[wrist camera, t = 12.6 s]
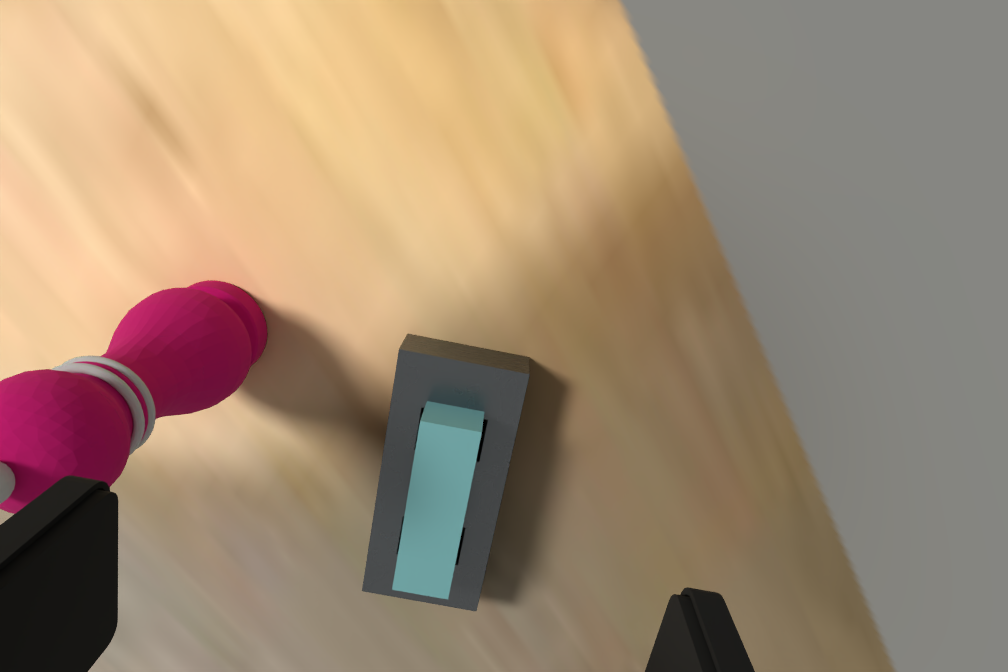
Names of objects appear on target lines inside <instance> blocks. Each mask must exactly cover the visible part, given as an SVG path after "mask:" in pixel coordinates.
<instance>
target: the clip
mask: <svg viewBox="0 0 1008 672" xmlns="http://www.w3.org/2000/svg"><path fill="white" fill-rule="evenodd" d="M483 419H484V412H483V411H478V410H472V409H467V408H462V407H456V406H451V405H446V404H440V403H435V402H430V401H427V403H426V405H425V408H424V411H423V414H422V417H421V420H420V425H419V431H418V437H417V443H416V449H415V455H414V461H413V467H412V473H411V479H410V485H409V491H408V497H407V503H406V509H405V515H404V521H403V527H402V533H401V539H400V545H399V551H398V557H397V563H396V569H395V575H394V581H393V587H392V590H397V591H402V592H408V593H414V594H419V595H425V596H431V597H436V598H442V599H448V597H449V592H450V587H451V582H452V578H453V573H454V568H455V563H456V558H457V553H458V548H459V543H460V538H461V533H462V528H463V523H464V518H465V513H466V508H467V503H468V498H469V493H470V488H471V483H472V478H473V474H474V469H475V464H476V459H477V454H478V449H479V444H480V439H481V434H482V427H483Z"/></svg>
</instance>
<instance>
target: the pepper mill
mask: <svg viewBox="0 0 1008 672" xmlns="http://www.w3.org/2000/svg"><path fill="white" fill-rule="evenodd" d="M266 341H267V326H266V321H265V318H264V315H263V313H262V311H261V309H260V308H259V306H258V305H257V303H256V302H255V301H254V300H253V299H252V298H251V297H250V296H249V295H248V294H247V293H246V292H244V291H243V290H241V289H240V288H238V287H236V286H234V285H232V284H229V283H226V282H221V281H203V282H199V283H195V284H193V285H191V286H189V287H187V288H172V289H167V290H162V291H159V292H157V293H154V294H152V295H150V296H149V297H147V298H145V299H144V300H142V301H141V302H140V303H138V304H137V305H136V306H134V307H133V308H132V309H130V311H129V312H128V313H127V314H126V316H125V317H124V318H123V319H122V320H121V322H120V324H119V325H118V327H117V329H116V330H115V332H114V334H113V337H112V340H111V342H110V345H109V348H108V350H107V352H106V353H105V354H104V355H102V356H81V357H76V358H73V359H70V360H68V361H66V362H64V363H63V364H62V365H60V366H57V367H55V368H53V369H51V370H50V369H45V370H35V371H27V372H23V373H20V374H17V375H15V376H12V377H9V378H6V379H4V380H2V381H0V509H2V510H4V511H7V512H9V513H14V514H16V513H17V512H18V511H20V510H21V509H22V508H23V507H25V506H26V505H27V504H29V503H30V502H31V501H33V500H34V499H35V498H37V497H38V496H39V495H40V494H42V493H43V492H44V491H46V490H47V489H48V488H50V487H51V486H52V485H53V484H55V483H56V482H57V481H59V480H60V479H62V478H63V477H65V476H69V475H72V476H78V477H83V478H89V479H94V480H100V481H104V482H106V483H107V484H108V485H109V487H110V486H111V485H112V484H113V483H114V482H115V481H116V479H117V478H118V477H119V476H120V475H121V473H122V471H123V469H124V467H125V465H126V462H127V459H128V457H129V455H130V454H132V453H133V452H134V451H135V449H137V448H139V447H140V446H141V445H143V444H144V443H145V442H146V440H147V439H148V438H149V436H150V435H151V433H152V431H153V428H154V424H155V419H157V418H159V417H164V416H171V415H181V414H189V413H193V412H197V411H200V410H203V409H207V408H210V407H212V406H214V405H216V404H218V403H219V402H221V401H222V400H224V399H225V398H227V397H228V396H230V395H231V394H232V393H234V392H235V391H236V390H237V389H238V388H239V386H240V385H241V384H242V382H243V381H244V379H245V378H246V375H247V373H248V371H249V368H250V366H251V365H253V364H254V363H255V362H256V361H257V360H258V358H259V357H260V356H261V354H262V352H263V350H264V348H265V345H266Z"/></svg>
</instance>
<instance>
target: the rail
mask: <svg viewBox="0 0 1008 672" xmlns="http://www.w3.org/2000/svg"><path fill="white" fill-rule="evenodd" d="M529 375H530V369H529V357H525V356H520V355H515V354H510V353H505V352H499V351H494V350H489V349H484V348H479V347H474V346H468V345H463V344H458V343H453V342H448V341H443V340H437V339H432V338H427V337H422V336H417V335H412V334H407V336H406V337H405V339H404V341H403V343H402V345H401V347H400V348H399V353H398V360H397V366H396V373H395V379H394V386H393V392H392V399H391V405H390V412H389V418H388V425H387V431H386V438H385V444H384V451H383V457H382V464H381V471H380V477H379V484H378V490H377V497H376V503H375V510H374V516H373V523H372V529H371V536H370V542H369V549H368V555H367V562H366V568H365V575H364V582H363V588H362V591H365V592H370V593H376V594H382V595H387V596H393V597H398V598H404V599H410V600H415V601H421V602H426V603H432V604H438V605H443V606H449V607H454V608H460V609H466V610H471V611H477V606H478V602H479V597H480V593H481V588H482V584H483V580H484V575H485V571H486V566H487V562H488V557H489V553H490V548H491V544H492V540H493V535H494V531H495V526H496V522H497V517H498V513H499V508H500V504H501V500H502V495H503V491H504V486H505V482H506V477H507V473H508V468H509V464H510V460H511V455H512V451H513V446H514V442H515V437H516V433H517V428H518V424H519V420H520V415H521V411H522V406H523V402H524V397H525V393H526V389H527V384H528V380H529ZM427 401H430V402H435V403H440V404H446V405H451V406H456V407H462V408H467V409H472V410H478V411H483V412H484V419H486V424H485V428H484V433H483V438H482V440H480V444H479V449H478V454H477V459H476V464H475V469H474V474H473V478H472V483H471V488H470V493H469V498H468V503H467V508H466V513H465V518H464V523H463V527H464V530H463V535H462V538H460V543H459V548H458V553H457V558H456V563H455V568H454V573H453V578H452V582H451V587H450V592H449V597H448V599H442V598H436V597H431V596H425V595H419V594H414V593H408V592H402V591H397V590H392V587H393V581H394V575H395V569H396V563H397V557H398V551H399V545H400V539H401V533H402V527H403V521H404V515H405V509H406V503H407V497H408V491H409V485H410V479H411V473H412V467H413V461H414V455H415V449H416V443H417V437H418V431H419V425H420V420H421V417H422V414H423V411H424V408H425V405H426V403H427Z"/></svg>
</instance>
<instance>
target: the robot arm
mask: <svg viewBox="0 0 1008 672" xmlns="http://www.w3.org/2000/svg"><path fill="white" fill-rule="evenodd" d="M117 620H118V497H117V495H116V493H114V492H110V487H109V485H108V484H107V483H106V482H104V481H100V480H94V479H89V478H83V477H78V476H72V475H69V476H65V477H63V478H62V479H60V480H59V481H57V482H56V483H55V484H53V485H52V486H51V487H50V488H48V489H47V490H46V491H44V492H43V493H42V494H40V495H39V496H38V497H37V498H35V499H34V500H33V501H31V502H30V503H29V504H27V505H26V506H25V507H23V508H22V509H21V510H20V511H18V512H17V513H16V514H14V515H13V516H12V517H10V518H9V519H8V520H6V521H5V522H4V523H3V524H1V525H0V672H88V670H89V669H90V668H91V667H92V665H93V664H94V663H95V662H96V660H97V659H98V658H99V657H100V655H101V654H102V653H103V652H104V650H105V649H106V648H107V646H108V645H109V643H110V642H111V640H112V638H113V636H114V633H115V631H116V627H117ZM645 672H755V671H754V669H753V666H752V664H751V662H750V659H749V657H748V655H747V652H746V650H745V648H744V645H743V643H742V641H741V638H740V636H739V634H738V631H737V629H736V627H735V624H734V622H733V620H732V617H731V615H730V613H729V610H728V608H727V606H726V603H725V601H724V599H723V597H722V596H721V595H720V594H719V593H715V592H710V591H704V590H699V589H693V588H684V590H683V591H682V592H681V595H676V594H674V595H672V596H671V598H670V600H669V603H668V605H667V608H666V611H665V614H664V617H663V620H662V623H661V626H660V629H659V632H658V635H657V638H656V641H655V644H654V647H653V649H652V652H651V655H650V658H649V661H648V664H647V667H646V670H645Z"/></svg>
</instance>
